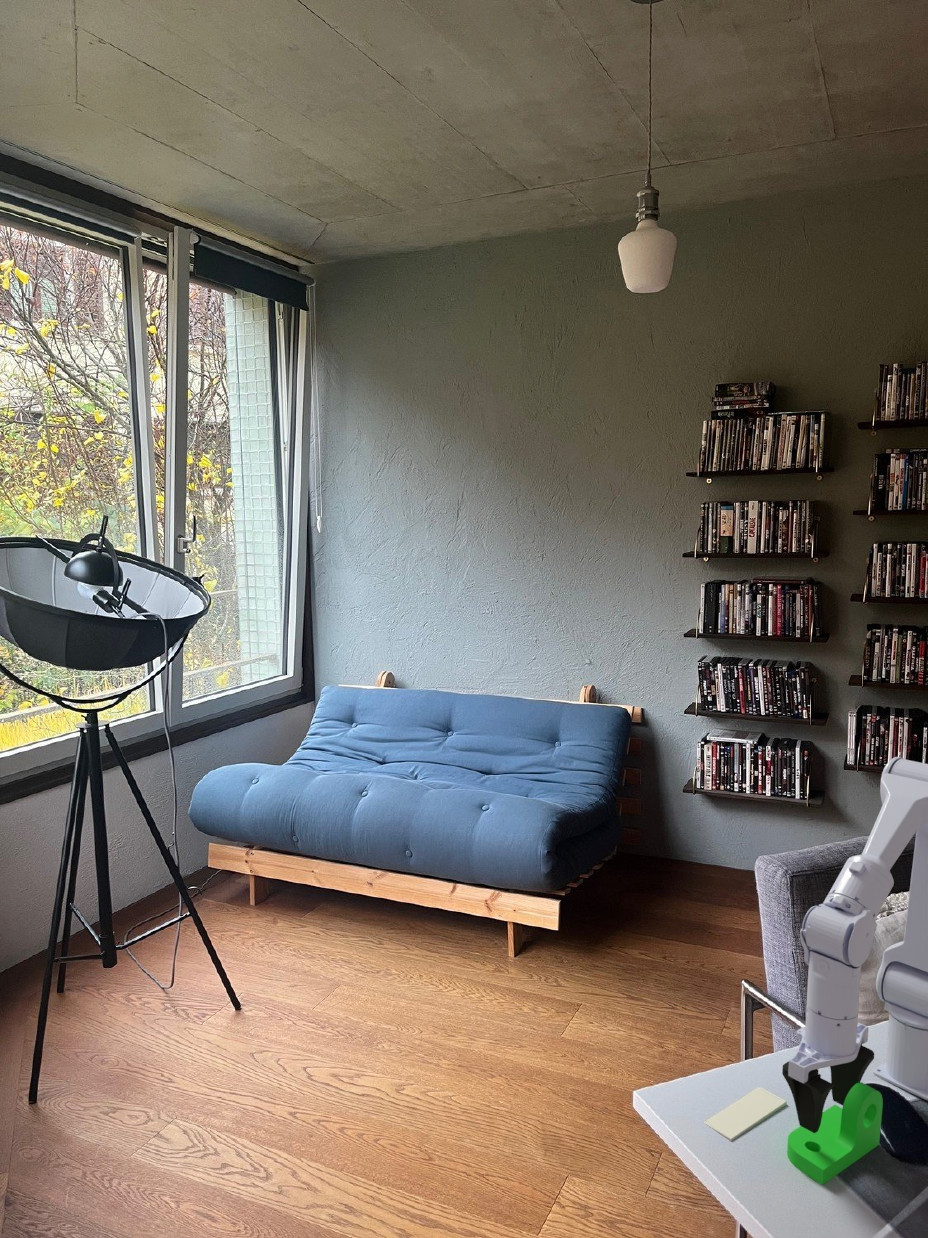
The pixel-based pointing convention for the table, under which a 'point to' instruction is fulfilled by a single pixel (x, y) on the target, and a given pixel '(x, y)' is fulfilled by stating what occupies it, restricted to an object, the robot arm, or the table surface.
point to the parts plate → (745, 1113)
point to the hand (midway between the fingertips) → (825, 1115)
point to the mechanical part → (838, 1135)
